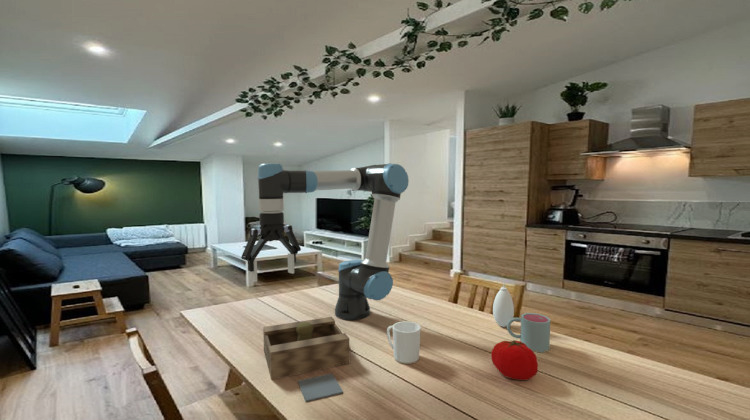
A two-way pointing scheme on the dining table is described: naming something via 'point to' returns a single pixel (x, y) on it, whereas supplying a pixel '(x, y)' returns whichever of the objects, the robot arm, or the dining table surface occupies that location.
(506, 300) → the sauce bottle
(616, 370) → the dining table surface
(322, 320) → the walnut box
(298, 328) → the cork
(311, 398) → the grey pad
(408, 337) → the mug
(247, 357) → the dining table surface
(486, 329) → the dining table surface
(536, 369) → the tomato
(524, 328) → the mug
